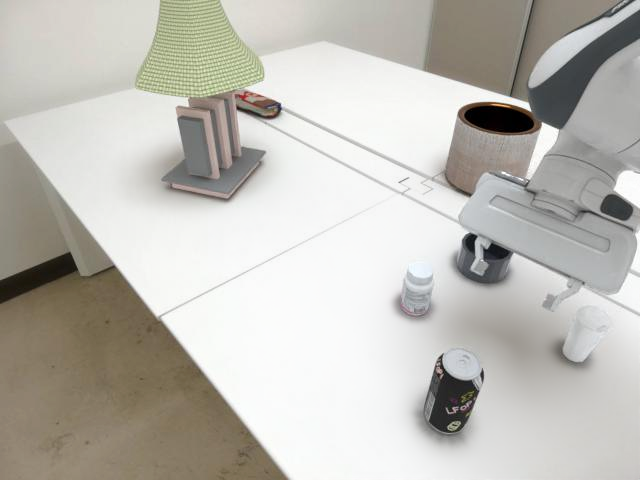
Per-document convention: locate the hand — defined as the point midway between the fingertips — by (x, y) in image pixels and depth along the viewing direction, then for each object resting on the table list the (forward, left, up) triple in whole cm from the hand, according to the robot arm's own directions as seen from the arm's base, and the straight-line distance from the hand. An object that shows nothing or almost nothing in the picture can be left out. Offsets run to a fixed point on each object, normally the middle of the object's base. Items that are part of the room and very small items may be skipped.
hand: (510, 290), depth 57 cm
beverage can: (+1, +11, -16) cm, 19 cm away
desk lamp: (+70, -17, -16) cm, 74 cm away
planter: (+17, -51, -16) cm, 57 cm away
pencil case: (+88, -51, -16) cm, 104 cm away
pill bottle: (+13, -5, -16) cm, 22 cm away
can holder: (+7, -21, -16) cm, 28 cm away
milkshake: (-11, -10, -16) cm, 22 cm away
